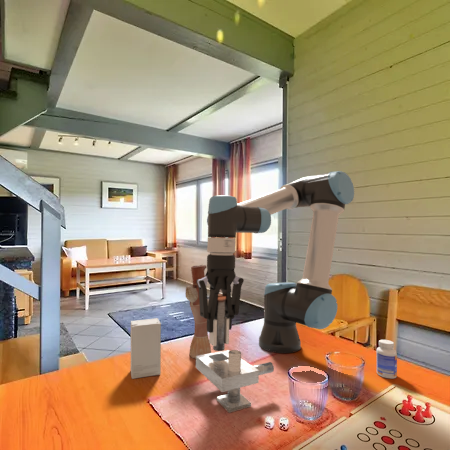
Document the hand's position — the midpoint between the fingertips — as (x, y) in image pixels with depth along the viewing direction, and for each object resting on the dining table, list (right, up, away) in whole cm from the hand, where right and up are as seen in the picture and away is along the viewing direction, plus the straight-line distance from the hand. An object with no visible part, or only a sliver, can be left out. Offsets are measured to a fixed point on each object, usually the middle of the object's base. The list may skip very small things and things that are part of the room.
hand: (218, 343), depth 81 cm
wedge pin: (0, -2, 0) cm, 2 cm away
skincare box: (-22, -12, +7) cm, 26 cm away
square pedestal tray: (+4, -12, -2) cm, 13 cm away
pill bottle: (+49, -13, +10) cm, 52 cm away
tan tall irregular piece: (-8, -13, +21) cm, 26 cm away
